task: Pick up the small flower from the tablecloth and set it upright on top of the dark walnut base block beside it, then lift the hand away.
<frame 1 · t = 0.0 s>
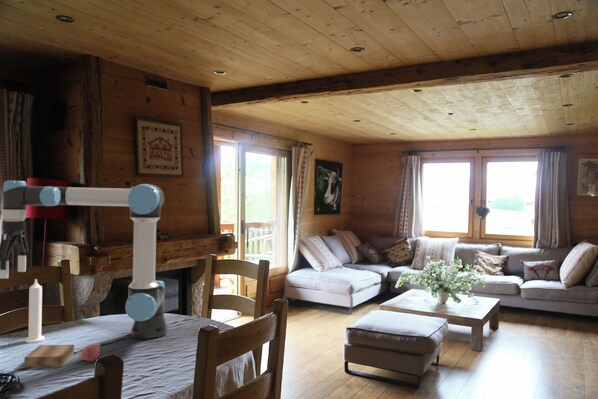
hand: (13, 274, 173), 28 cm above the table, tool pointing down, fingers open, 13 cm apart
candle: (34, 340, 182), on the table
flower: (90, 361, 162), on the table
walnut base: (50, 361, 161), on the table
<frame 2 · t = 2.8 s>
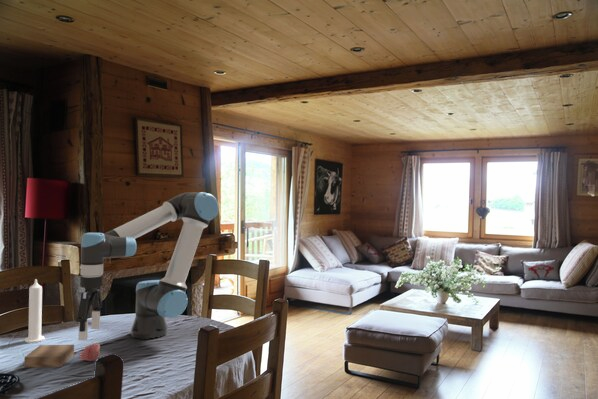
hand: (89, 334, 161), 10 cm above the table, tool pointing down, fingers open, 13 cm apart
nothing on the table moved.
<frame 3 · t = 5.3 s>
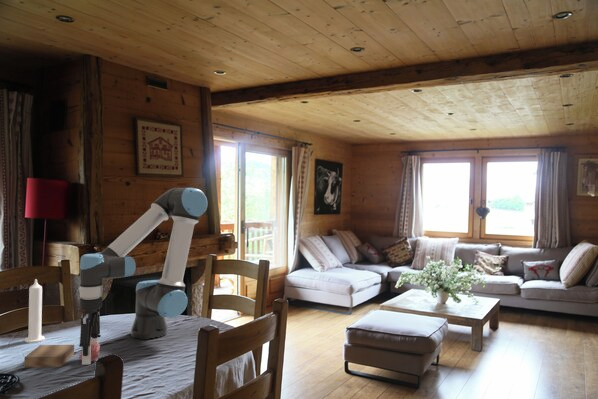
hand: (89, 359, 162), 0 cm above the table, tool pointing down, fingers open, 7 cm apart
flower: (89, 361, 162), on the table, touching gripper
everything else where it was.
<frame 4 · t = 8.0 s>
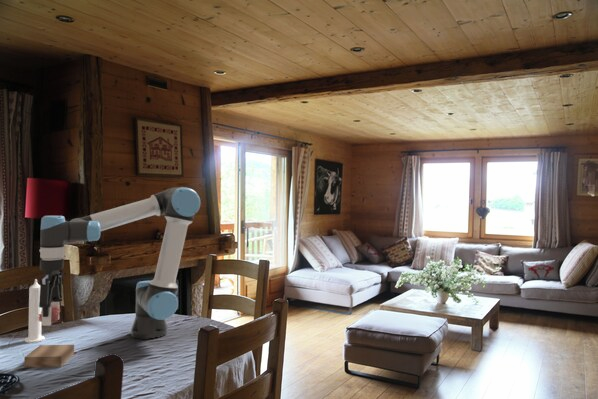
hand: (50, 322, 161), 14 cm above the table, tool pointing down, fingers closed on flower, 6 cm apart
flower: (49, 324, 160), point 13 cm above the table, touching gripper
everything else where it was.
when the fingers open (5 cm above the table, at t = 10.2 s): flower drops 1 cm, point 3 cm above the table.
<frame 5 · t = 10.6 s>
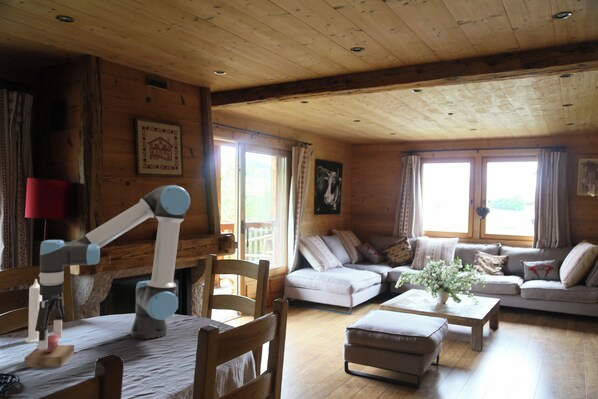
hand: (50, 343, 161), 6 cm above the table, tool pointing down, fingers open, 12 cm apart
flower: (48, 352, 160), point 3 cm above the table
everything else where it was.
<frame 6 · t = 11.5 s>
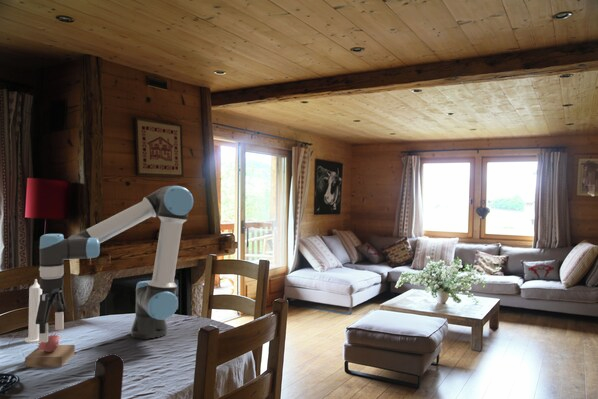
hand: (51, 335, 161), 9 cm above the table, tool pointing down, fingers open, 13 cm apart
flower: (49, 352, 161), point 3 cm above the table, touching walnut base
walnut base: (50, 361, 161), on the table, touching flower
everything else where it was.
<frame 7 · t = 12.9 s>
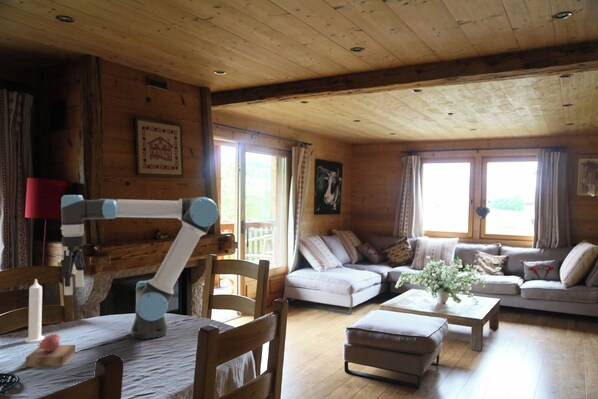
hand: (74, 290, 171), 23 cm above the table, tool pointing down, fingers open, 13 cm apart
nothing on the table moved.
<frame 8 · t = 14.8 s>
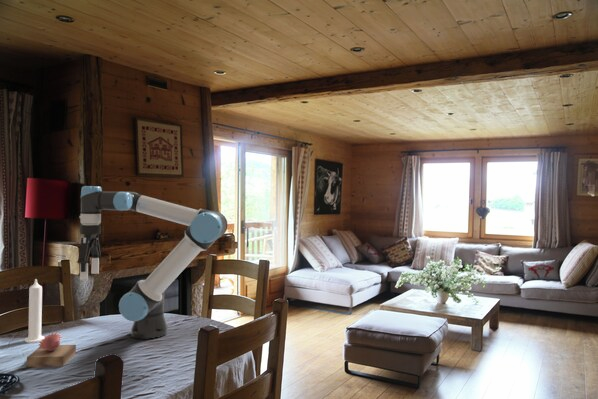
hand: (89, 276, 180), 27 cm above the table, tool pointing down, fingers open, 13 cm apart
nothing on the table moved.
at the end: flower inside the target area on the walnut base (0.8 cm from its centre), point 3.8 cm above the walnut base's base; flower tilted 1°; the gripper is holding nothing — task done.
